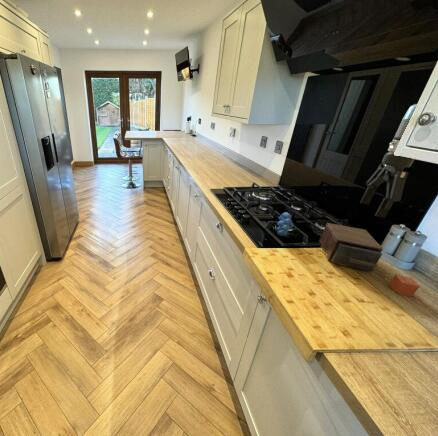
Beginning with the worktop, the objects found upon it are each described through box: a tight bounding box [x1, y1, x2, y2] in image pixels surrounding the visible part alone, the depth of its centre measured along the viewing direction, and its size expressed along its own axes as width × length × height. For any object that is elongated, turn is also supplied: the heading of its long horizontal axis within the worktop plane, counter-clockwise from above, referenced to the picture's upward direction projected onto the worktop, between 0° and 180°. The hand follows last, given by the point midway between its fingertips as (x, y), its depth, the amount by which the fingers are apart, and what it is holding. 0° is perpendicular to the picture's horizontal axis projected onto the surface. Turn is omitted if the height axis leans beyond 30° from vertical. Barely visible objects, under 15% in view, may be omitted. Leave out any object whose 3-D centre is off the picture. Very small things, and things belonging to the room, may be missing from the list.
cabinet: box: [318, 222, 384, 262], centre depth 95 cm, size 16×14×10 cm
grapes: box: [275, 211, 295, 237], centre depth 107 cm, size 12×7×12 cm, turn 165°
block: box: [388, 274, 421, 298], centre depth 78 cm, size 4×4×4 cm
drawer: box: [330, 242, 383, 272], centre depth 91 cm, size 20×13×8 cm, turn 158°
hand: (371, 209), depth 90 cm, fingers open, 13 cm apart
